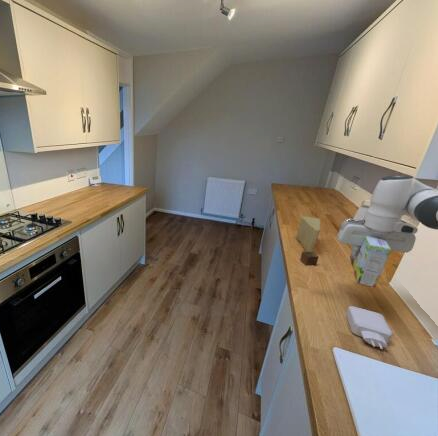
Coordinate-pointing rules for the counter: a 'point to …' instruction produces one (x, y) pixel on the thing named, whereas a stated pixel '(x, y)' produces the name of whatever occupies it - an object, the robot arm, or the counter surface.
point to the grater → (361, 211)
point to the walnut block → (309, 258)
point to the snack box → (370, 260)
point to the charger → (369, 326)
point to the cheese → (308, 232)
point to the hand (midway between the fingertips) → (366, 257)
